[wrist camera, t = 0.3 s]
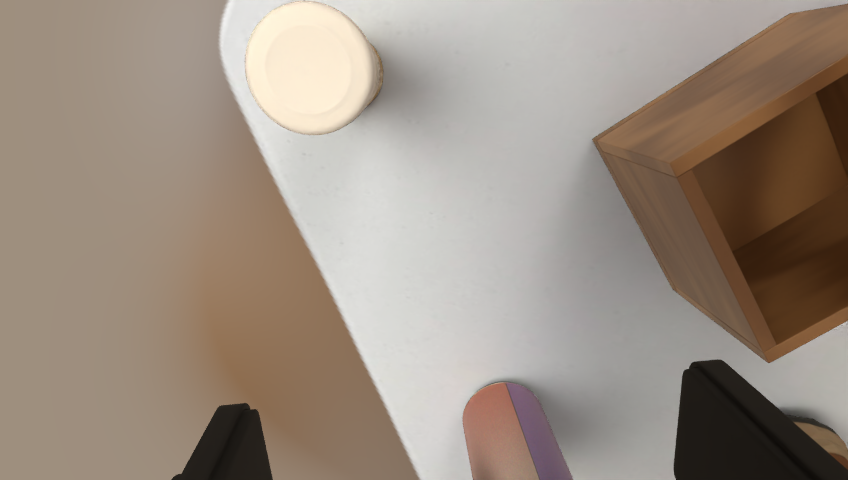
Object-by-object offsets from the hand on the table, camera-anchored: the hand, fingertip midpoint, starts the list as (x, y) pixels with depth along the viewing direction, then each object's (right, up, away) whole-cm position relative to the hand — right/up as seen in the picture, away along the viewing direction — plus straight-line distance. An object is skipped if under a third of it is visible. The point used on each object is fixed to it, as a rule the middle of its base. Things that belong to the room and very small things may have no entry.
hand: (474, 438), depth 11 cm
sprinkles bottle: (-6, +14, +20) cm, 25 cm away
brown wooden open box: (+19, +9, +22) cm, 30 cm away
